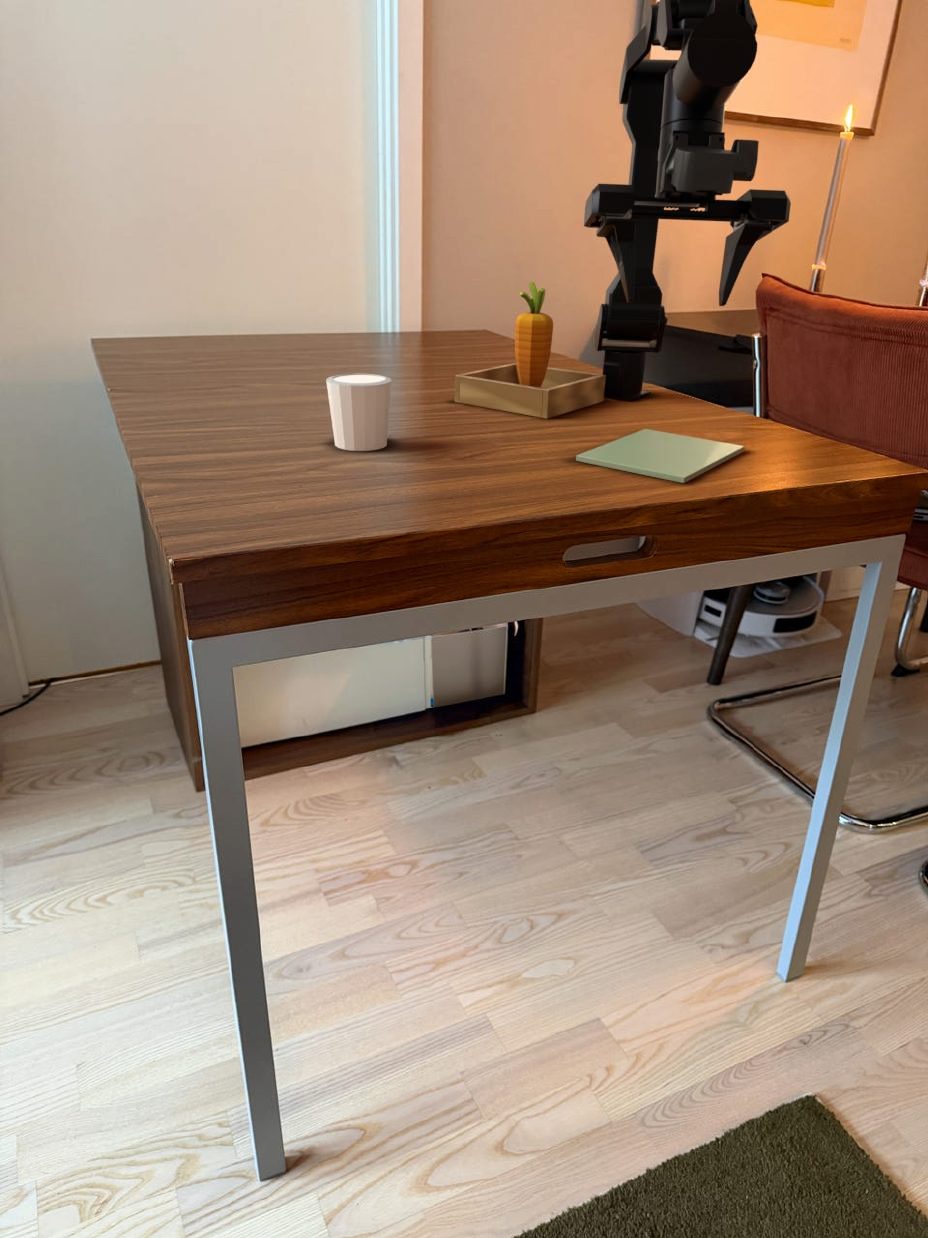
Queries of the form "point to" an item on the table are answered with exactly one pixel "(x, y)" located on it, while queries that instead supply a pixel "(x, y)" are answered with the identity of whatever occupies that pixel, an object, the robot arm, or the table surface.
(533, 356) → the carrot
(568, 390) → the wooden tray
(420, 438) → the table surface
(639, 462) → the board
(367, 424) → the white cup
